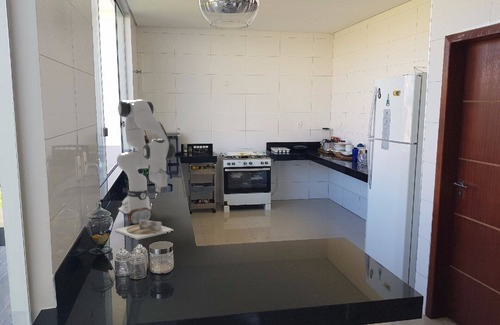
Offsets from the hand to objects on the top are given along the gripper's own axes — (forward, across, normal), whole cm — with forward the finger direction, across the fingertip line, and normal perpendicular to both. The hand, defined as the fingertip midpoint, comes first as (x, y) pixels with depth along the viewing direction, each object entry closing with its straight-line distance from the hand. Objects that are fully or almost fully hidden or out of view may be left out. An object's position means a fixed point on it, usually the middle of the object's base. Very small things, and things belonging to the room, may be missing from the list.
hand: (158, 191), depth 220 cm
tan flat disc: (+18, -10, +11) cm, 23 cm away
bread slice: (+20, +9, +7) cm, 23 cm away
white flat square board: (+19, -10, +11) cm, 24 cm away
